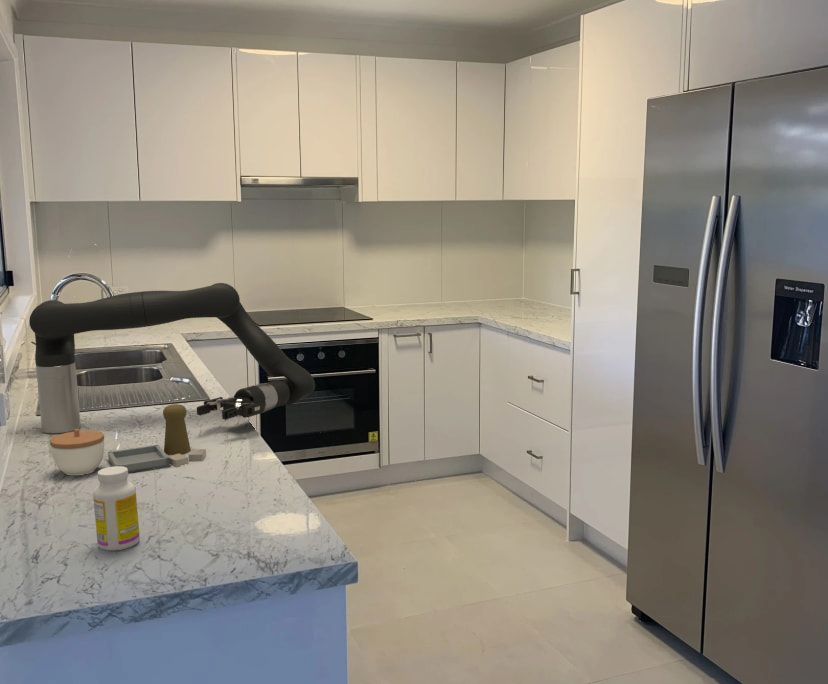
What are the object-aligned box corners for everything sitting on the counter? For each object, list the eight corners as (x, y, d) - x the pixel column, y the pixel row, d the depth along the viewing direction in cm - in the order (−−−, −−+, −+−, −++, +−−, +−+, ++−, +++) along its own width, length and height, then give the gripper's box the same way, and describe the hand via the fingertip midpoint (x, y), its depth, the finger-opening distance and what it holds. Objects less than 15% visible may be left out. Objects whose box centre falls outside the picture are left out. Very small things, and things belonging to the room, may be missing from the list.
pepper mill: (180, 446, 191) (177, 400, 189) (196, 450, 187) (193, 404, 185) (158, 452, 186) (155, 406, 185) (173, 456, 183) (170, 409, 181)
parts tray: (108, 460, 181) (107, 451, 180) (158, 452, 186) (158, 444, 185) (117, 475, 170) (116, 466, 170) (170, 466, 175) (169, 457, 175)
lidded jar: (49, 482, 167) (45, 438, 165) (57, 466, 177) (53, 425, 175) (104, 476, 169) (100, 433, 168) (108, 461, 180) (105, 421, 178)
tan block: (167, 464, 178) (166, 456, 178) (179, 461, 180) (179, 453, 180) (176, 468, 175) (175, 460, 175) (188, 465, 177) (188, 457, 177)
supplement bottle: (144, 535, 138) (139, 463, 136) (132, 551, 131) (127, 476, 129) (105, 536, 138) (99, 464, 136) (91, 552, 131) (85, 477, 129)
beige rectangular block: (192, 457, 183) (192, 449, 183) (206, 456, 183) (205, 449, 183) (189, 462, 179) (188, 454, 179) (202, 462, 179) (202, 454, 179)
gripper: (234, 382, 212) (188, 395, 198) (276, 388, 204) (231, 401, 191) (236, 410, 213) (190, 424, 199) (277, 416, 206) (232, 432, 192)
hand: (210, 413), depth 195 cm, fingers open, 8 cm apart
